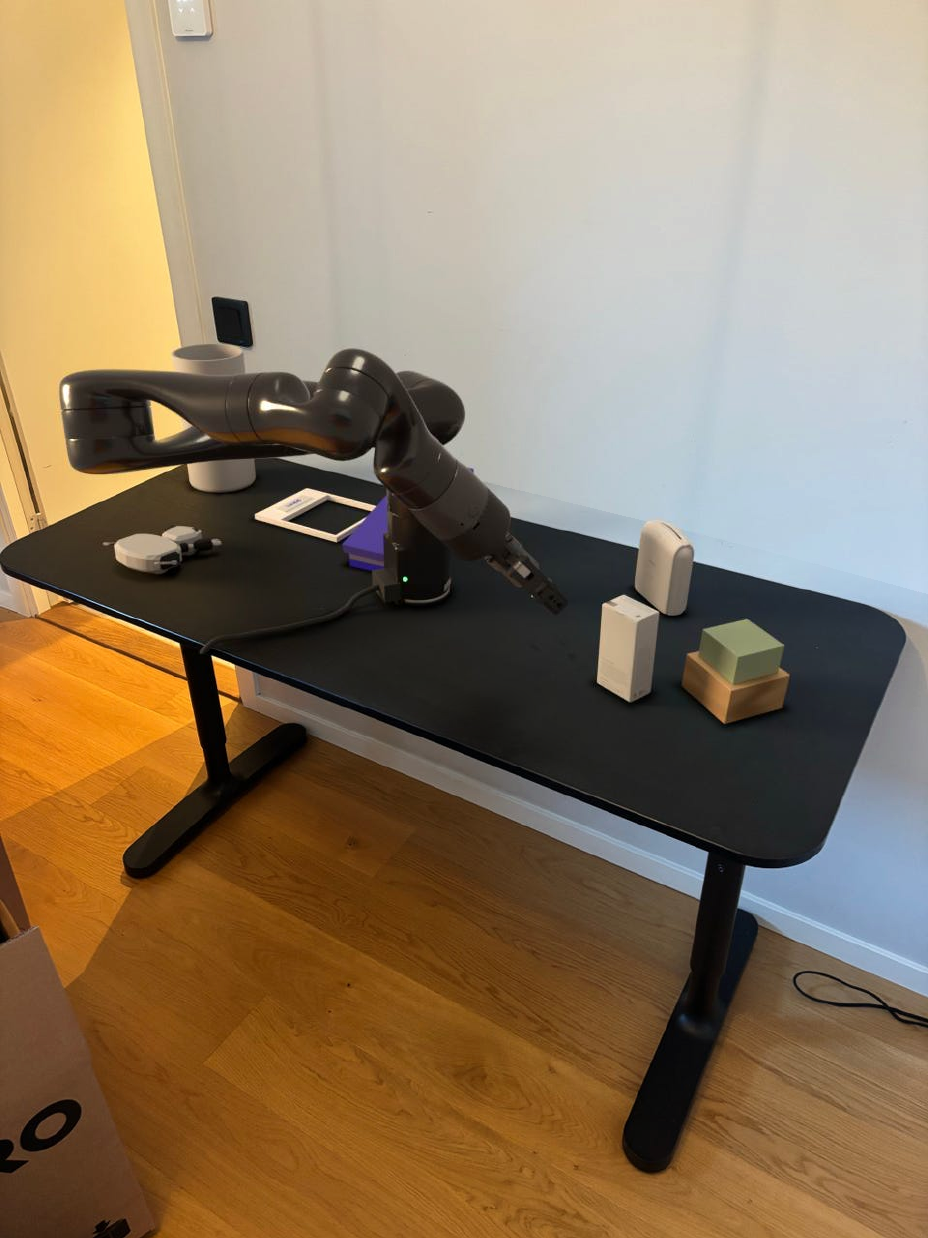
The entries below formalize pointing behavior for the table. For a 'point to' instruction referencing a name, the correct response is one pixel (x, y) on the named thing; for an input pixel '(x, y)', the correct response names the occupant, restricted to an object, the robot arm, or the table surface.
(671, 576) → the photo printer
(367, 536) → the stapler
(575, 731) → the table surface
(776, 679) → the lower block
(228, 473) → the cylinder vase
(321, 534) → the photo frame
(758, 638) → the upper block
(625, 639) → the cosmetic box
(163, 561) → the robot toy
